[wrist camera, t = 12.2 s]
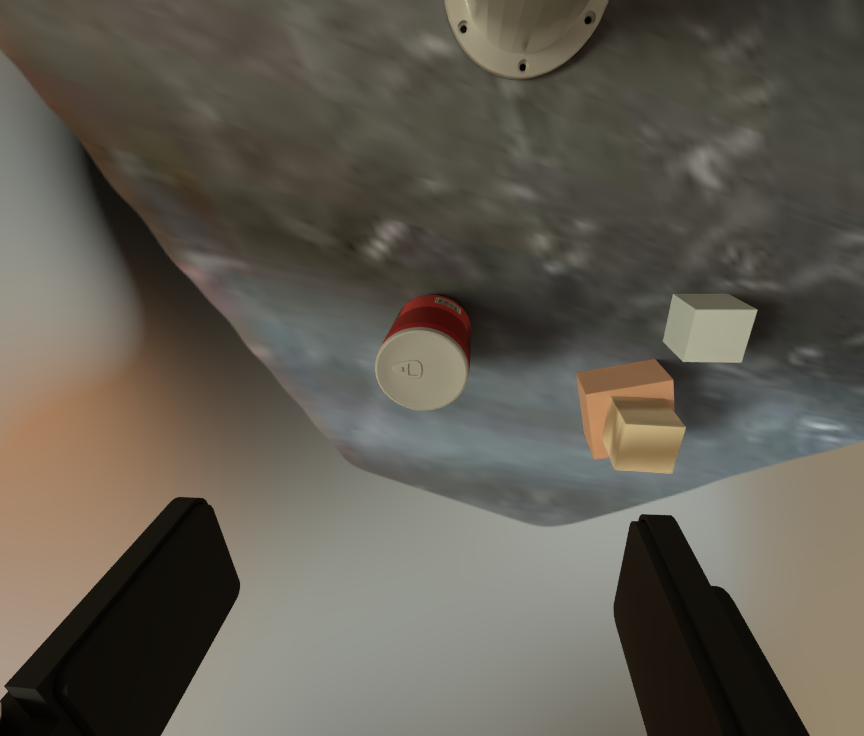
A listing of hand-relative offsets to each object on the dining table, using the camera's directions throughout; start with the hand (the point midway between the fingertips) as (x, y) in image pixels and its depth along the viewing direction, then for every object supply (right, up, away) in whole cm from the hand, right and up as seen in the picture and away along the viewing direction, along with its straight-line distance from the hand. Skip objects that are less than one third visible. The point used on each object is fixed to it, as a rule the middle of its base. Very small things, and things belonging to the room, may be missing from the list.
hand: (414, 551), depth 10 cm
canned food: (+1, +9, +36) cm, 37 cm away
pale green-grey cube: (+26, +9, +33) cm, 43 cm away
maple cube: (+20, -1, +33) cm, 39 cm away
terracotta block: (+21, +1, +38) cm, 43 cm away
